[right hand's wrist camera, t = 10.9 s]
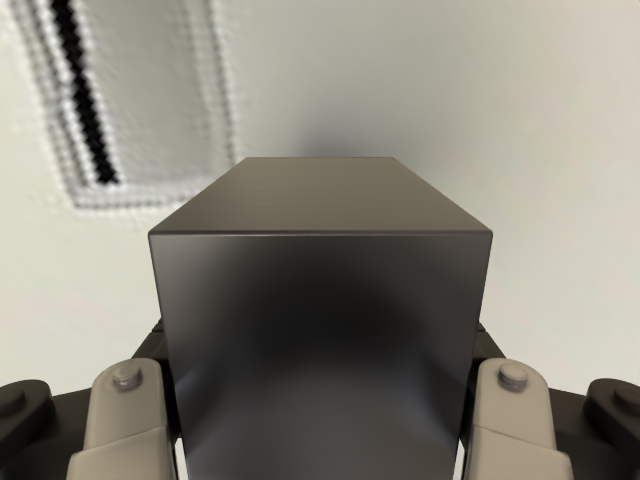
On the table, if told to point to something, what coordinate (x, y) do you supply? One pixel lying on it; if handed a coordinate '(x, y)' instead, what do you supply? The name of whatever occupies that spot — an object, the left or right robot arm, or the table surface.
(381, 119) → the table surface
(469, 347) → the bar
